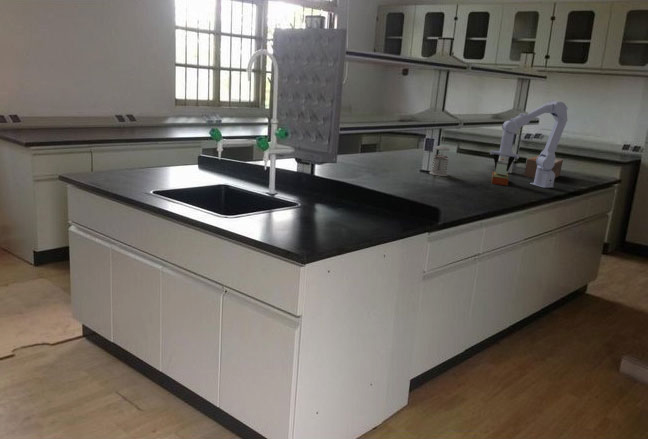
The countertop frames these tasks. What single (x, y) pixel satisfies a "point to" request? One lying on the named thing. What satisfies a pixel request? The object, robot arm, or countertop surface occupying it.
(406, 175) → the countertop surface
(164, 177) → the countertop surface
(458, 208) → the countertop surface
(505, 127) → the robot arm
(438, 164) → the french press
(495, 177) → the carton
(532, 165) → the tissue box cover
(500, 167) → the box
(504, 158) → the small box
